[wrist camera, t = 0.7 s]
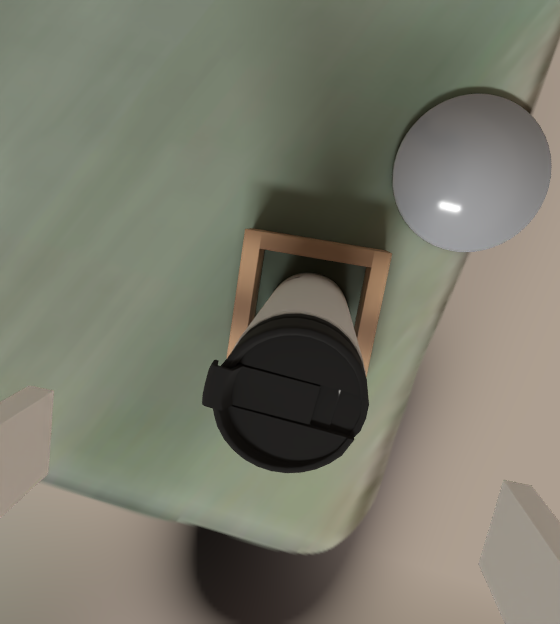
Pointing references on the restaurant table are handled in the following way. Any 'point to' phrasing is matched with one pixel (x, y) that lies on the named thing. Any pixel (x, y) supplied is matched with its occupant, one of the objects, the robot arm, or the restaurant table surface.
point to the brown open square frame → (314, 248)
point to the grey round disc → (471, 173)
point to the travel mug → (292, 380)
